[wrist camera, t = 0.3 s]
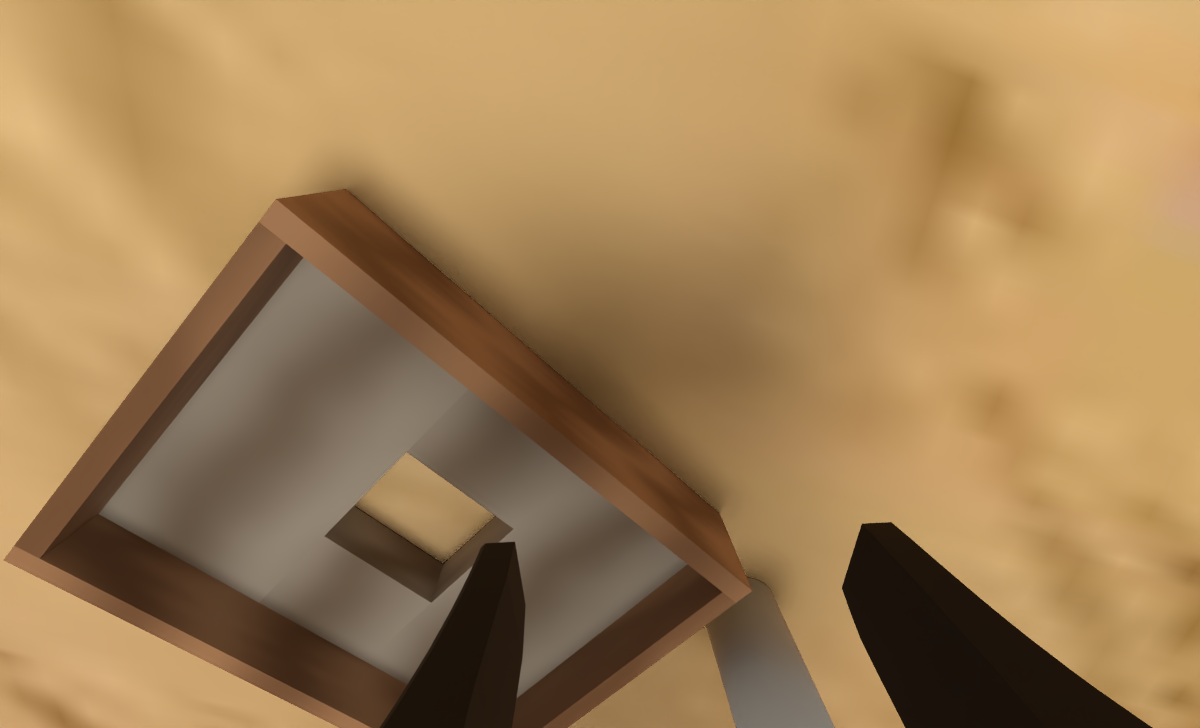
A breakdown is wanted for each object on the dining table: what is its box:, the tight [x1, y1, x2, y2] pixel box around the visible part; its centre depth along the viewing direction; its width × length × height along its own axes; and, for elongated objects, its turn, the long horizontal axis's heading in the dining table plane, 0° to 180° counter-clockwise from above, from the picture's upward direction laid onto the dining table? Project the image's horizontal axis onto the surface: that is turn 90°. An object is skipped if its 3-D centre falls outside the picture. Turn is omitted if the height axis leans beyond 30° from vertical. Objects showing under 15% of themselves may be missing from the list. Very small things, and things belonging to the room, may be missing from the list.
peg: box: [706, 578, 835, 728], centre depth 22 cm, size 4×4×7 cm
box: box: [4, 189, 752, 728], centre depth 20 cm, size 20×16×4 cm
